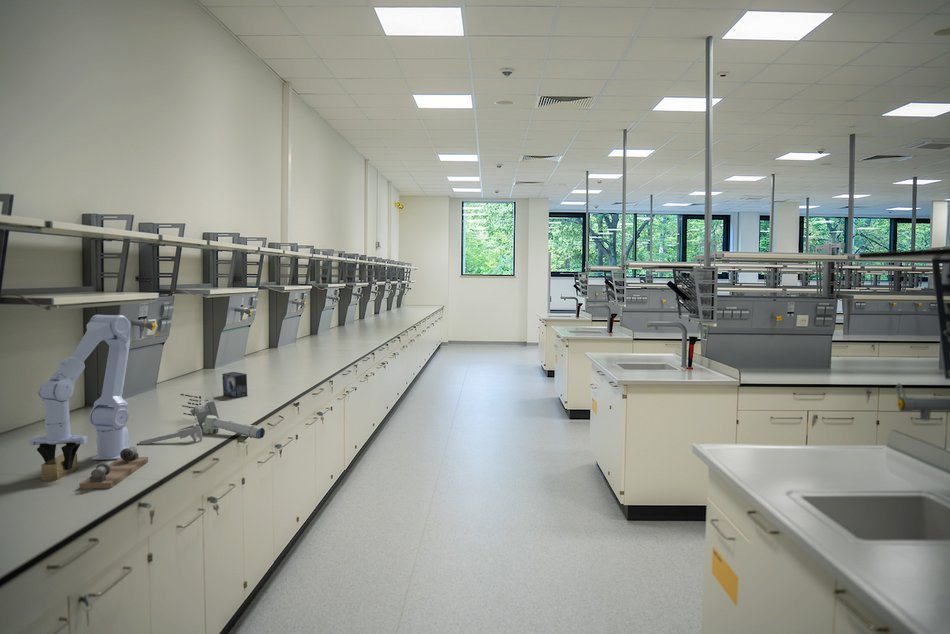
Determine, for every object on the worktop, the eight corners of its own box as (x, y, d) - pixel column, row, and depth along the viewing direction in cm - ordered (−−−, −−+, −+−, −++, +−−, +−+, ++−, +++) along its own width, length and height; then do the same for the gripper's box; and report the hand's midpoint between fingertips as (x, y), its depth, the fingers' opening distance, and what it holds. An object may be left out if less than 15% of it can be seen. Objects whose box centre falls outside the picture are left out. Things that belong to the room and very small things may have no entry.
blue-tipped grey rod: (256, 429, 205) (199, 413, 214) (254, 448, 206) (198, 431, 214) (266, 425, 210) (210, 410, 218) (265, 444, 211) (209, 428, 219)
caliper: (202, 441, 206) (201, 422, 205) (201, 441, 205) (201, 423, 204) (136, 444, 201) (136, 426, 201) (135, 445, 200) (135, 427, 200)
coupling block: (63, 469, 176) (62, 453, 176) (77, 468, 177) (77, 453, 176) (42, 480, 166) (41, 464, 166) (57, 480, 167) (56, 464, 166)
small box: (222, 395, 279) (221, 373, 278) (234, 393, 284) (234, 371, 283) (235, 398, 273) (234, 375, 272) (248, 396, 278) (247, 373, 277)
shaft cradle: (120, 462, 181) (119, 444, 181) (148, 461, 182) (147, 443, 182) (79, 489, 160) (78, 468, 159) (111, 488, 160) (110, 467, 160)
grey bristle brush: (232, 424, 227) (232, 398, 227) (206, 431, 217) (205, 404, 217) (188, 415, 240) (187, 391, 240) (161, 422, 231) (160, 396, 230)
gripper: (21, 426, 166) (23, 474, 167) (76, 425, 167) (79, 473, 168) (37, 420, 173) (39, 466, 174) (90, 418, 174) (92, 464, 175)
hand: (60, 469), depth 171 cm, fingers closed on coupling block, 4 cm apart
